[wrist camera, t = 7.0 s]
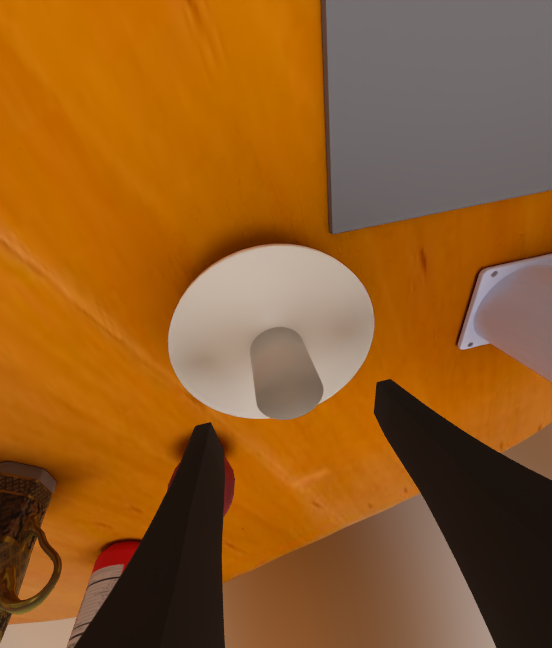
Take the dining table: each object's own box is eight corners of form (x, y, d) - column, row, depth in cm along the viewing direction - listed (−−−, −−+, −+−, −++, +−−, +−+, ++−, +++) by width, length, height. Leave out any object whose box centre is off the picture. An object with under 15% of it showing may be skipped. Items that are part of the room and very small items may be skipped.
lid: (375, 222, 12) (436, 241, 9) (365, 389, 19) (397, 440, 15) (130, 270, 11) (87, 313, 8) (207, 427, 18) (202, 490, 14)
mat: (757, -335, 9) (791, -367, 8) (552, 187, 17) (561, 187, 17) (309, -306, 8) (316, -340, 7) (329, 232, 16) (332, 234, 16)
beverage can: (106, 561, 35) (56, 722, 24) (94, 542, 31) (30, 718, 21) (154, 553, 36) (126, 703, 26) (147, 534, 33) (111, 697, 22)
